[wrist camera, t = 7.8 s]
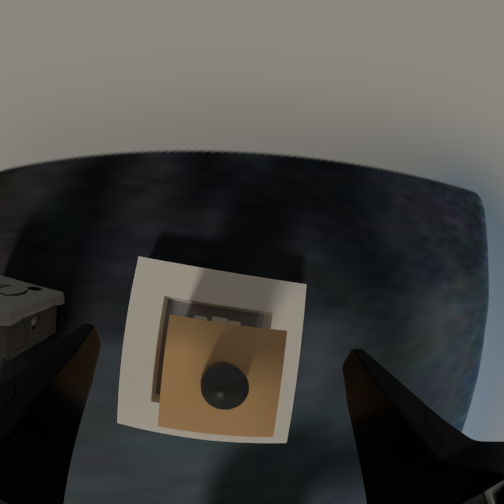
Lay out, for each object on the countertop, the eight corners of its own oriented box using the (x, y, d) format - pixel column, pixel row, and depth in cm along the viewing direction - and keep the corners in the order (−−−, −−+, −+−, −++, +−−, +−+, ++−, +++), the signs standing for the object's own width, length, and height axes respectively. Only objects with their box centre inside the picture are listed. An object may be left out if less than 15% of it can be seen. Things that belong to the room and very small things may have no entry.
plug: (237, 388, 20) (280, 446, 9) (176, 380, 20) (153, 436, 8) (245, 324, 22) (298, 318, 10) (184, 315, 21) (168, 299, 10)
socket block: (276, 430, 20) (286, 442, 17) (126, 412, 18) (117, 422, 15) (293, 289, 24) (306, 284, 21) (145, 265, 22) (138, 256, 19)
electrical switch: (69, 293, 20) (7, 285, 11) (65, 349, 19) (5, 367, 10) (2, 275, 19) (-58, 261, 10) (-2, 324, 18) (-61, 326, 9)
